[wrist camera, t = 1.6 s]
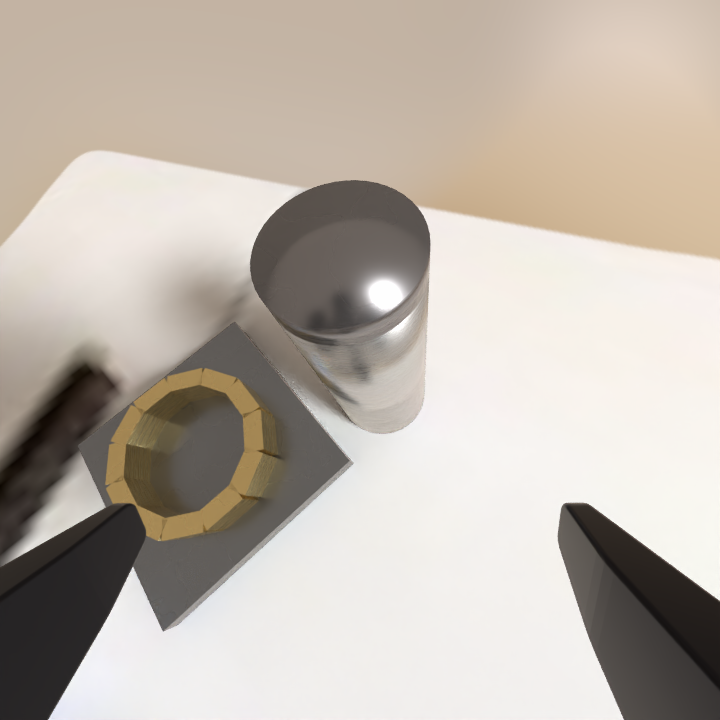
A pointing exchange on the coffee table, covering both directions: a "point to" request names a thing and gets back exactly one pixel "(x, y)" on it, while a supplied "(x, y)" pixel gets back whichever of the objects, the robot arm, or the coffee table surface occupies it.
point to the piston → (352, 294)
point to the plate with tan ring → (211, 468)
